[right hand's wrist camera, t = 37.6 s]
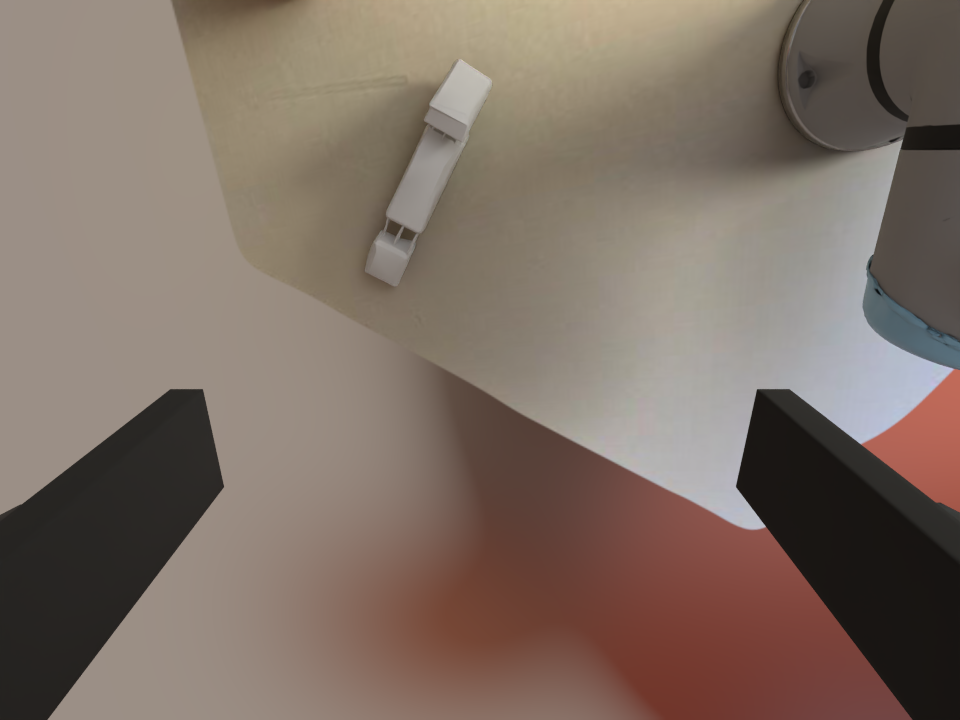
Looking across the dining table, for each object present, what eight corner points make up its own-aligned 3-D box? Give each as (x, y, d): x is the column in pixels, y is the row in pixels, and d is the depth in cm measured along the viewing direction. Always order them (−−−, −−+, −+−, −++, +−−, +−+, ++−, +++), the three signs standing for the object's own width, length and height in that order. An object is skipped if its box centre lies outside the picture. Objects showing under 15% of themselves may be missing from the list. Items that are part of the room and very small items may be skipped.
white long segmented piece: (457, 57, 45) (448, 51, 39) (496, 80, 45) (493, 77, 39) (370, 259, 53) (351, 281, 47) (403, 276, 54) (390, 299, 48)
